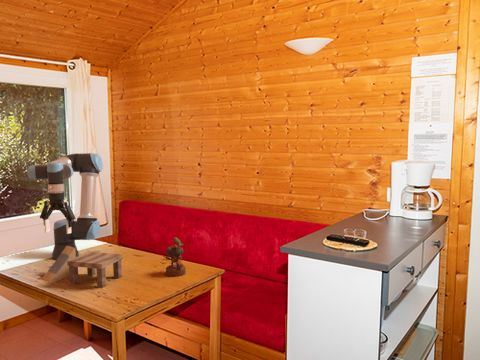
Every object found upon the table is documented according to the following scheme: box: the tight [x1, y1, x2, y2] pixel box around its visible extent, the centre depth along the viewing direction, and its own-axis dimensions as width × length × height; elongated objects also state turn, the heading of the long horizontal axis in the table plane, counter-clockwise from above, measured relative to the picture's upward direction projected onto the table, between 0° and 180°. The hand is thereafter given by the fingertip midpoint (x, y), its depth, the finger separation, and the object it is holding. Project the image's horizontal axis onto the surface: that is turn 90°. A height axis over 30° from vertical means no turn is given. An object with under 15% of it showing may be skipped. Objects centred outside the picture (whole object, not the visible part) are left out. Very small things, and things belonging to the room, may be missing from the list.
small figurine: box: [163, 237, 187, 278], centre depth 223 cm, size 15×11×20 cm
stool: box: [67, 251, 124, 289], centre depth 214 cm, size 20×18×12 cm
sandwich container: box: [41, 246, 76, 283], centre depth 219 cm, size 9×15×15 cm, turn 143°
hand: (58, 232), depth 218 cm, fingers open, 13 cm apart
